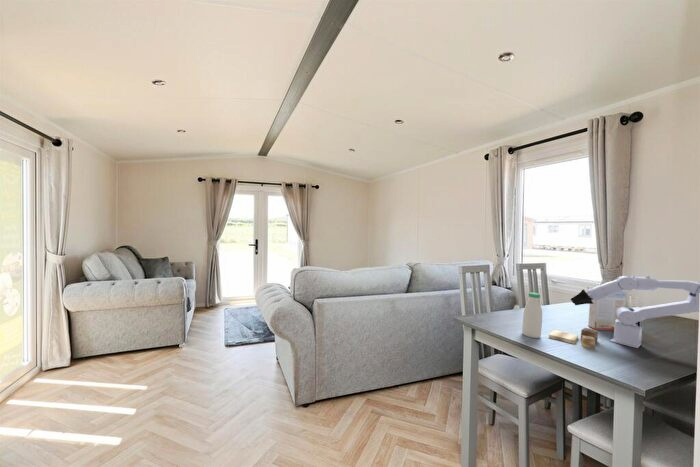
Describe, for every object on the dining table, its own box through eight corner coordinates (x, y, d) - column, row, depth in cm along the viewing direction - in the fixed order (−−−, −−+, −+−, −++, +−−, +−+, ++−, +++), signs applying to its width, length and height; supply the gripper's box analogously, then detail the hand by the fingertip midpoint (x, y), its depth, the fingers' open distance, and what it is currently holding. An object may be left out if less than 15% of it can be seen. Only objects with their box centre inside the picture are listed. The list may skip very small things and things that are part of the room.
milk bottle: (543, 339, 147) (546, 295, 146) (525, 337, 149) (528, 294, 148) (537, 333, 155) (540, 292, 154) (519, 331, 156) (522, 290, 155)
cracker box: (615, 328, 170) (618, 288, 169) (624, 331, 164) (627, 291, 163) (587, 325, 171) (590, 286, 170) (594, 329, 165) (597, 289, 164)
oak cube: (592, 346, 142) (593, 337, 142) (594, 349, 138) (595, 339, 138) (581, 344, 144) (581, 335, 143) (583, 347, 140) (583, 338, 140)
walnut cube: (597, 341, 148) (598, 330, 148) (593, 343, 145) (594, 332, 144) (584, 338, 152) (585, 327, 151) (580, 340, 149) (581, 329, 148)
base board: (577, 338, 150) (578, 335, 150) (574, 344, 143) (575, 340, 143) (552, 332, 157) (553, 329, 157) (548, 337, 150) (549, 334, 150)
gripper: (599, 285, 159) (570, 296, 165) (596, 280, 148) (565, 292, 155) (608, 299, 155) (578, 310, 161) (606, 294, 145) (574, 306, 151)
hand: (572, 302), depth 158 cm, fingers open, 7 cm apart
